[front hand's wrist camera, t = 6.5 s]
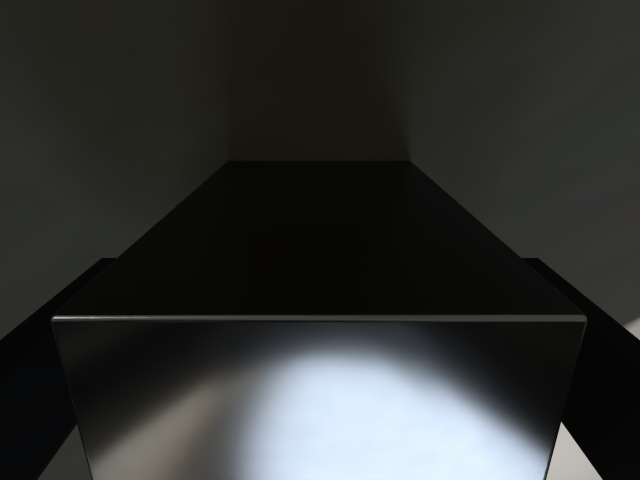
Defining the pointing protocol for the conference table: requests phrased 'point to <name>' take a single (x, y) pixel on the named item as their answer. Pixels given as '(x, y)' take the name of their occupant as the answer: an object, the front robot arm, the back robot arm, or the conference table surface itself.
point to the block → (318, 336)
